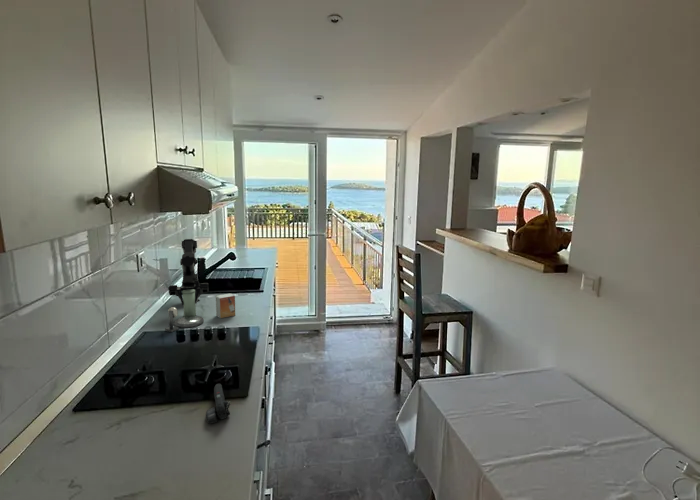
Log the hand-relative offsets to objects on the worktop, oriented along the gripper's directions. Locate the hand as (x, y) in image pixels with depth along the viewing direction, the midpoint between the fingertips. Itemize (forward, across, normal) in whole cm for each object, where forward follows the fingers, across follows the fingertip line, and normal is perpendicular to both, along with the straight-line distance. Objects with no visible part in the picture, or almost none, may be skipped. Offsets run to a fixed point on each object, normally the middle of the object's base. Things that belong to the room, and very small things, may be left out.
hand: (189, 303), depth 189 cm
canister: (+4, 0, +6) cm, 7 cm away
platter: (+11, 0, -2) cm, 11 cm away
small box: (+8, +17, +2) cm, 19 cm away
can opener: (+66, +11, -56) cm, 87 cm away
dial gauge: (+16, -7, -7) cm, 19 cm away
